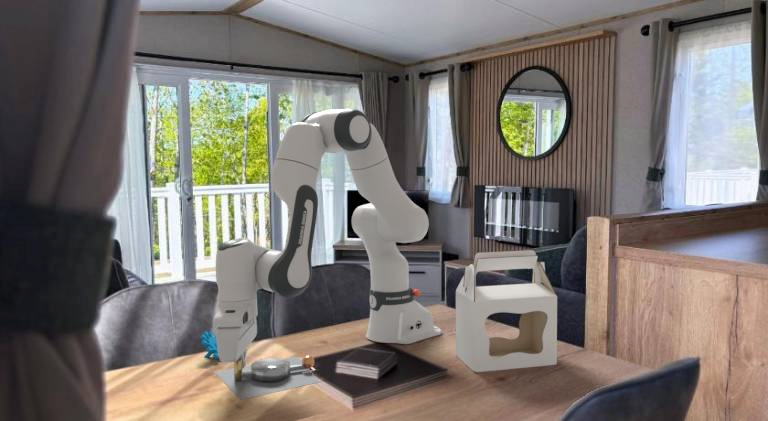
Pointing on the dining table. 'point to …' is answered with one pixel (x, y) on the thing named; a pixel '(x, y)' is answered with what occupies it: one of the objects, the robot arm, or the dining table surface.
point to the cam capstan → (270, 369)
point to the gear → (210, 344)
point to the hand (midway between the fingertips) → (241, 367)
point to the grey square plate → (257, 388)
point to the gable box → (524, 299)
